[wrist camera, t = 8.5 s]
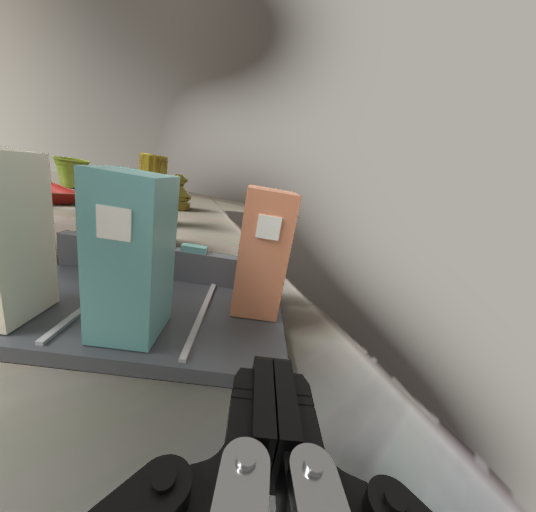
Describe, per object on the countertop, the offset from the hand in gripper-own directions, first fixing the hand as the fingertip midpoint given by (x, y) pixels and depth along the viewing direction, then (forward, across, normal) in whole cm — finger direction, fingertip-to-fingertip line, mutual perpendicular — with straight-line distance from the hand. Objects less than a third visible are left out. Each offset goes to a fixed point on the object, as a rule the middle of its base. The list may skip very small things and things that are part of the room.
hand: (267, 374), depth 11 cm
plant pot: (+80, +60, +6) cm, 100 cm away
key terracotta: (+16, 0, +5) cm, 17 cm away
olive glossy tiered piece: (+72, +25, +6) cm, 77 cm away
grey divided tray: (+14, +10, +7) cm, 18 cm away
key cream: (+10, +19, +5) cm, 22 cm away
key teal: (+9, +10, +5) cm, 15 cm away
